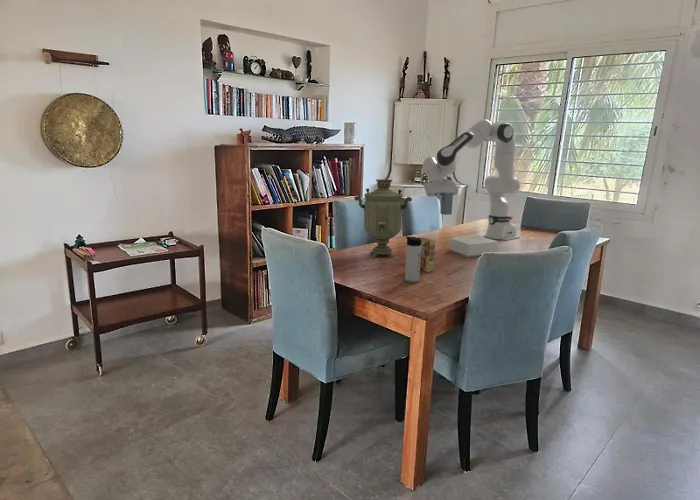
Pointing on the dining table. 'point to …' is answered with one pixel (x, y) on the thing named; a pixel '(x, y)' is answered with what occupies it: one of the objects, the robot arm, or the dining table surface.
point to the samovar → (382, 215)
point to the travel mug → (413, 259)
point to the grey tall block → (446, 203)
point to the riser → (472, 245)
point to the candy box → (427, 254)
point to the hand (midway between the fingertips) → (446, 200)
